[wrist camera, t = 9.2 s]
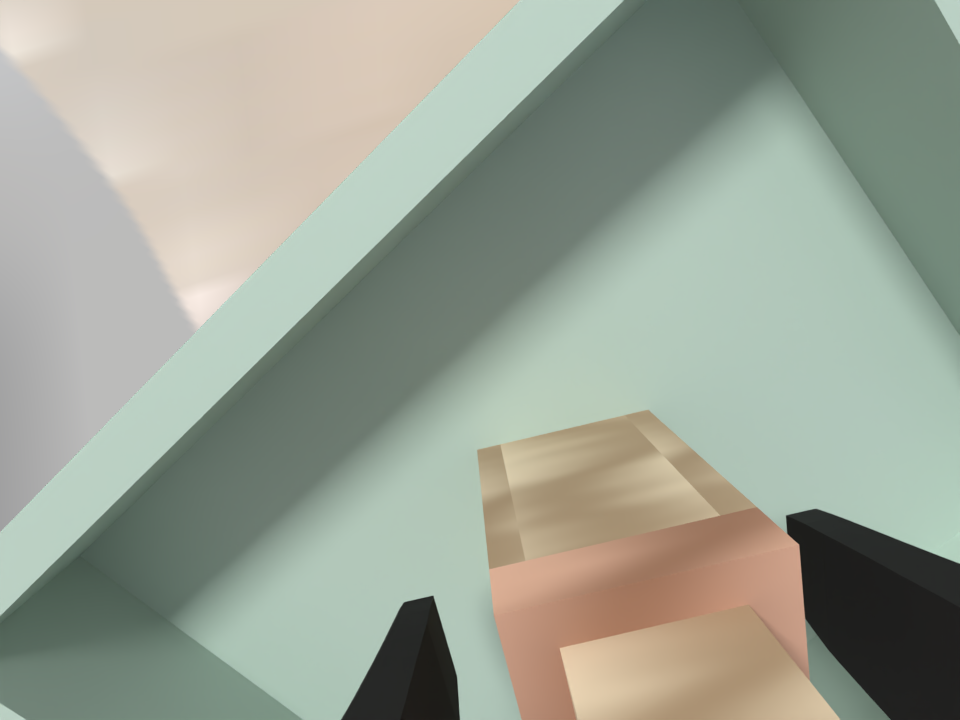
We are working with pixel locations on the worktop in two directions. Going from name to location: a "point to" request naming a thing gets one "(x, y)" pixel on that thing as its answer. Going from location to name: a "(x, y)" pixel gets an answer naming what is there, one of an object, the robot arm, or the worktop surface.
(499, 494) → the square capped bottle
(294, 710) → the bin
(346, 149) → the worktop surface
